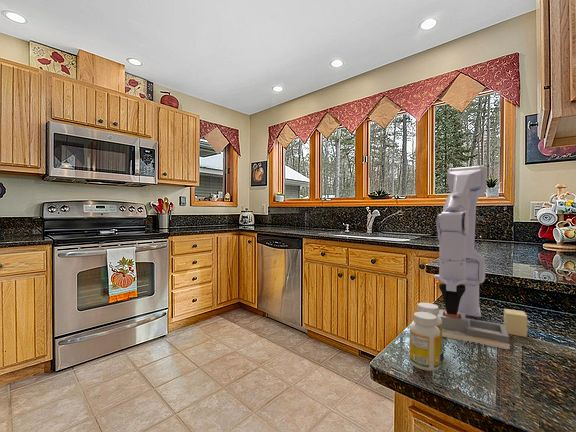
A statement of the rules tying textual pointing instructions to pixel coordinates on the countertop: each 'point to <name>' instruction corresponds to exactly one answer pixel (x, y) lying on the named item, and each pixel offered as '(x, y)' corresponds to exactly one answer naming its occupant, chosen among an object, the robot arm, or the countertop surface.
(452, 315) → the plunger
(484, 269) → the robot arm
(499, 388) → the countertop surface
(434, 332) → the supplement bottle
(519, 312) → the tan block
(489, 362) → the countertop surface
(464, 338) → the panel
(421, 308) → the supplement bottle
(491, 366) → the countertop surface
